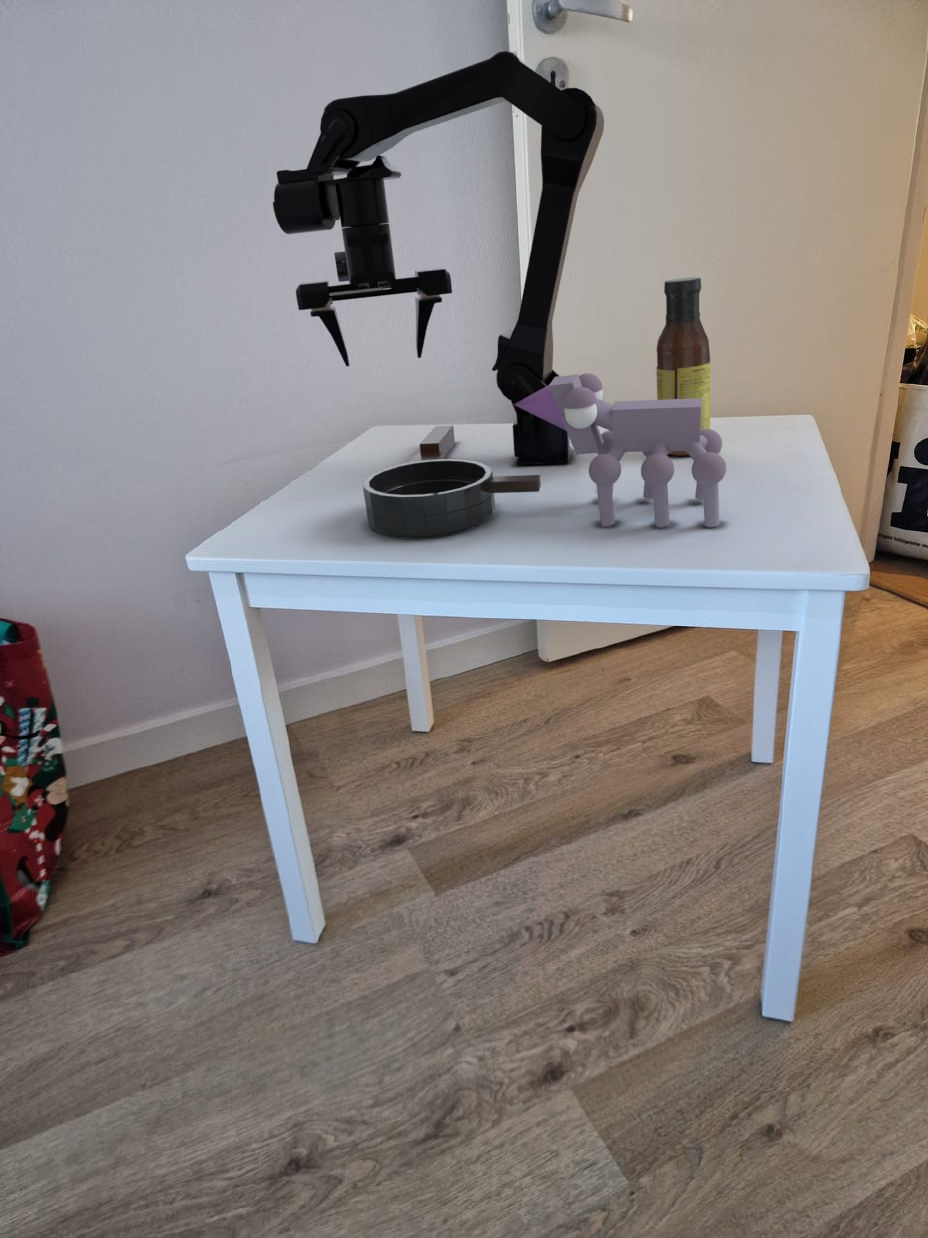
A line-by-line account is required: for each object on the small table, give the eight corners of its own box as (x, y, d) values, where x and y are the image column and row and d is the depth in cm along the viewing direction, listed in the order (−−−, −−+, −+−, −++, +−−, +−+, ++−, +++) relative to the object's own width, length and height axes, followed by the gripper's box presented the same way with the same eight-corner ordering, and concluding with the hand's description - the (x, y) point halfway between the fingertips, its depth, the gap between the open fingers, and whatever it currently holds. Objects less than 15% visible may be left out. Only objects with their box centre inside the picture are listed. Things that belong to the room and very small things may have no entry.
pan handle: (540, 485, 80) (540, 474, 80) (538, 491, 79) (538, 480, 78) (492, 487, 81) (491, 476, 81) (489, 493, 80) (489, 482, 79)
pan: (502, 496, 87) (500, 456, 85) (484, 539, 76) (480, 494, 74) (388, 499, 90) (382, 461, 88) (352, 541, 78) (345, 498, 76)
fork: (432, 444, 112) (430, 426, 111) (459, 443, 112) (458, 424, 110) (402, 479, 97) (399, 459, 96) (433, 478, 96) (431, 457, 95)
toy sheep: (509, 531, 77) (500, 390, 71) (531, 497, 86) (524, 369, 80) (722, 533, 71) (731, 380, 66) (721, 497, 81) (729, 359, 75)
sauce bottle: (715, 445, 98) (724, 273, 90) (699, 459, 94) (707, 279, 85) (664, 443, 102) (668, 277, 93) (647, 455, 97) (649, 282, 88)
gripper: (436, 219, 101) (448, 346, 108) (291, 235, 100) (313, 362, 107) (445, 216, 91) (458, 356, 98) (284, 233, 90) (309, 373, 97)
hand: (383, 361), depth 100 cm, fingers open, 9 cm apart
